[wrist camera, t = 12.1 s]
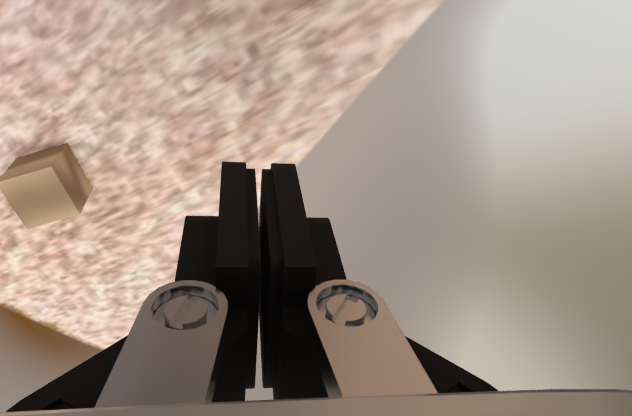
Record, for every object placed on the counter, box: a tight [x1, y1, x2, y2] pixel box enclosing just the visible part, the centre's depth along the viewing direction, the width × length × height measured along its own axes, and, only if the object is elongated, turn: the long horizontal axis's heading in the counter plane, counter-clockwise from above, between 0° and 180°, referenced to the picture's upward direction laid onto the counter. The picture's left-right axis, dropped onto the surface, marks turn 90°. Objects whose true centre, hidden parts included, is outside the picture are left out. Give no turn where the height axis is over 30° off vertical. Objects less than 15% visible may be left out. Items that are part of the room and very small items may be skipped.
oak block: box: [0, 143, 93, 229], centre depth 38 cm, size 4×4×4 cm
